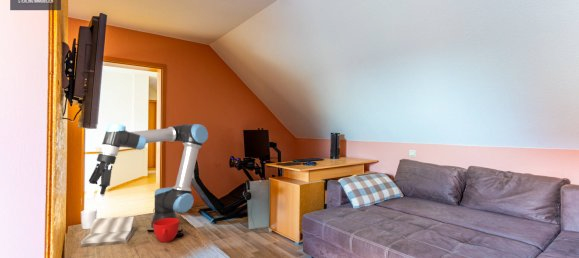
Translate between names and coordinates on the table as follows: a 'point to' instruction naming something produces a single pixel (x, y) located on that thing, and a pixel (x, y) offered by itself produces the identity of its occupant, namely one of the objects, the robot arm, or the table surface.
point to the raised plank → (112, 225)
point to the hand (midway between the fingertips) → (93, 199)
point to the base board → (107, 238)
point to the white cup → (88, 218)
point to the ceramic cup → (166, 229)
